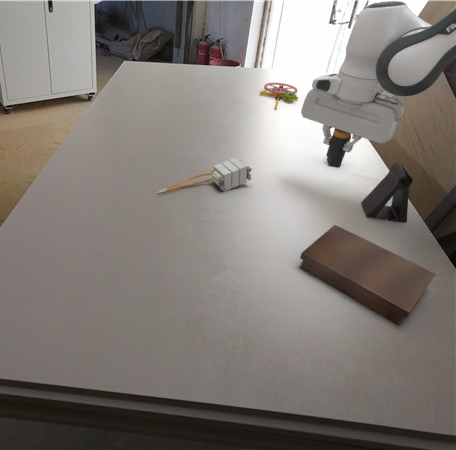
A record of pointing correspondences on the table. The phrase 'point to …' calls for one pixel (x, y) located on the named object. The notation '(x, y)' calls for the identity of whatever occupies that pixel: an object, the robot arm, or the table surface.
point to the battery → (337, 144)
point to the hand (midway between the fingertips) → (336, 147)
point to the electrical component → (224, 175)
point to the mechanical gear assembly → (280, 92)
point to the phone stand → (390, 196)
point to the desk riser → (367, 272)
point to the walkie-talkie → (337, 162)
